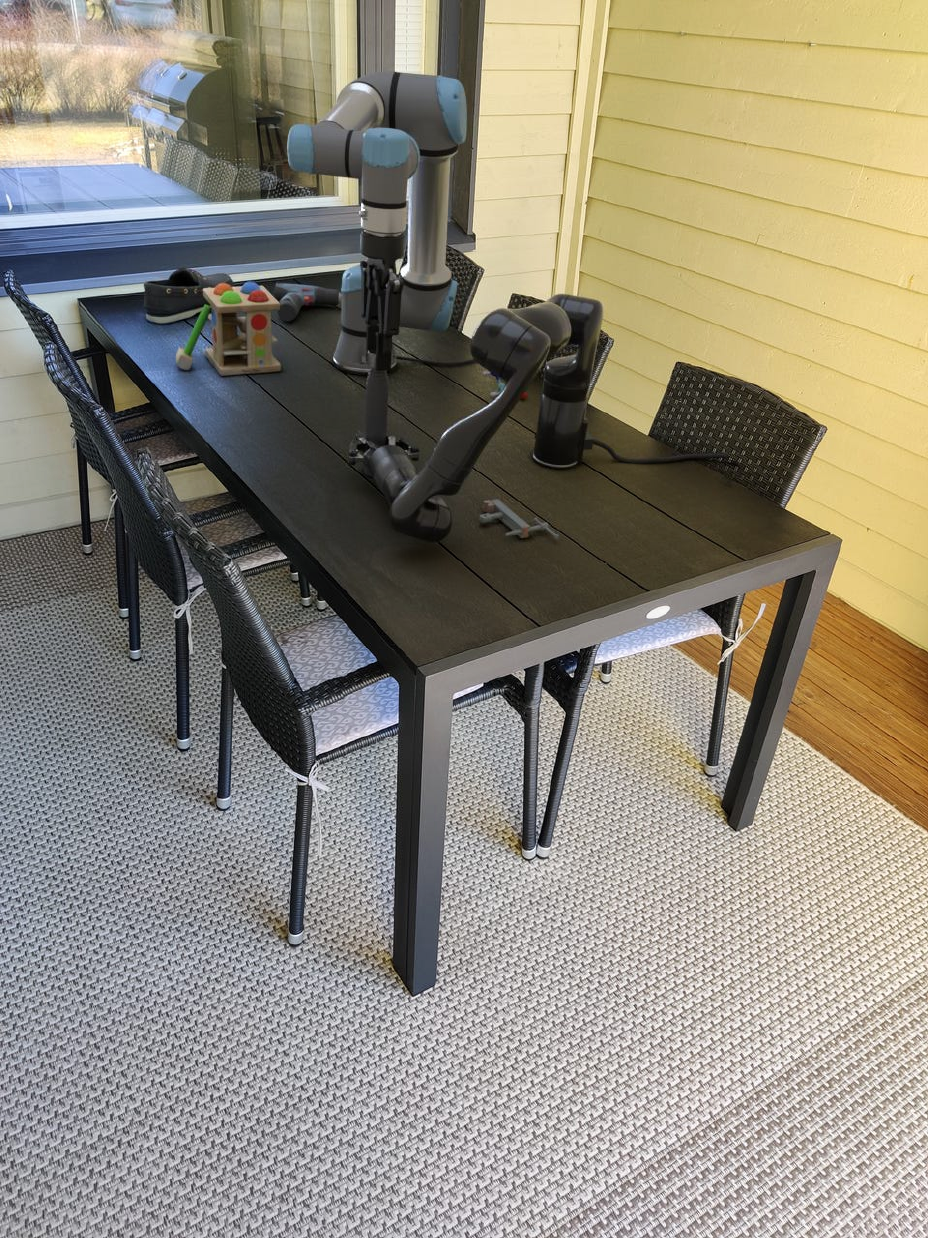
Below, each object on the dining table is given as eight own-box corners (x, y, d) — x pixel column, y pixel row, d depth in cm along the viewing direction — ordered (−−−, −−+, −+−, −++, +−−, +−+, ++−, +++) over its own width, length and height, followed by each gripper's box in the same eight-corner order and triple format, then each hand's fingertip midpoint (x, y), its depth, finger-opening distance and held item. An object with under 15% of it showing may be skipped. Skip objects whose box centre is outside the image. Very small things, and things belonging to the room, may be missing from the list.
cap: (369, 360, 180) (370, 346, 179) (390, 362, 180) (390, 348, 178) (365, 367, 177) (366, 353, 175) (386, 369, 177) (387, 355, 175)
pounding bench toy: (183, 379, 220) (176, 299, 210) (169, 357, 231) (162, 280, 221) (282, 371, 230) (280, 294, 220) (264, 350, 240) (262, 276, 230)
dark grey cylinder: (387, 470, 192) (393, 352, 178) (380, 478, 188) (385, 359, 175) (368, 466, 192) (372, 348, 179) (360, 474, 189) (363, 355, 176)
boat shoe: (253, 302, 272) (251, 263, 267) (163, 325, 248) (159, 283, 243) (219, 293, 278) (216, 255, 272) (128, 316, 254) (123, 274, 248)
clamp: (469, 503, 178) (515, 494, 182) (468, 513, 179) (514, 504, 184) (513, 542, 167) (561, 531, 172) (512, 553, 169) (559, 542, 173)
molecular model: (528, 399, 218) (514, 355, 217) (489, 413, 222) (475, 370, 221) (541, 397, 229) (527, 355, 228) (504, 410, 233) (491, 369, 231)
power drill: (335, 306, 256) (344, 285, 273) (264, 300, 255) (277, 279, 272) (335, 327, 259) (344, 304, 276) (264, 320, 258) (277, 299, 275)
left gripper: (343, 219, 170) (341, 351, 183) (382, 244, 158) (377, 384, 171) (383, 218, 173) (378, 348, 186) (424, 243, 161) (416, 380, 174)
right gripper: (434, 452, 176) (408, 414, 189) (356, 457, 171) (335, 418, 185) (431, 489, 180) (406, 450, 193) (355, 495, 176) (335, 454, 189)
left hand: (378, 365), depth 178 cm, fingers closed on cap, 4 cm apart
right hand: (371, 434), depth 189 cm, fingers closed on dark grey cylinder, 4 cm apart
